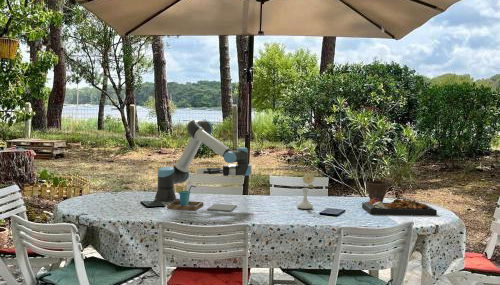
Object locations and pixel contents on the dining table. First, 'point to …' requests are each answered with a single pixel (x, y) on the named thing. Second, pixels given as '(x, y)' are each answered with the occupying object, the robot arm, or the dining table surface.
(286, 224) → the dining table surface
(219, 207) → the board
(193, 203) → the wooden picture frame
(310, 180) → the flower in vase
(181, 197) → the cup
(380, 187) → the plant pot
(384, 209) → the food platter
